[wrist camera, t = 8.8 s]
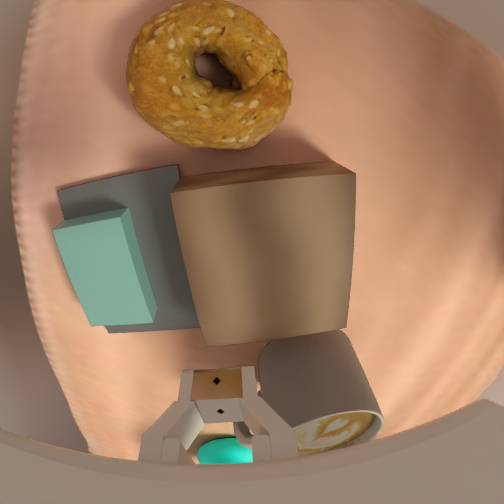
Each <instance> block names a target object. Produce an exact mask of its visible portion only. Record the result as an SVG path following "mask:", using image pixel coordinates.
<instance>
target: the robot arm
mask: <svg viewBox="0 0 504 504" xmlns="http://www.w3.org/2000/svg"><path fill="white" fill-rule="evenodd" d="M240 421H244V422H245V424H246V425H247V426H248V427H249V429H250V430H251V431H252V432H253V434H254V435H255V436H253V437H252V438H251V441H252V460H253V462H247V463H229V464H195V463H194V461H193V460H192V458H191V457H190V455H189V454H188V452H187V450H188V448H189V447H190V445H191V444H192V442H193V441H194V439H195V438H196V437H197V435H198V434H199V432H200V431H201V429H202V428H203V426H204V425H205V424H204V423H220V422H240ZM0 504H504V407H503V406H501V405H499V404H497V403H495V402H493V401H490V400H488V399H484V398H483V399H479V400H477V401H474V402H472V403H470V404H468V405H466V406H464V407H462V408H460V409H458V410H456V411H453V412H451V413H449V414H446V415H444V416H442V417H439V418H437V419H434V420H432V421H429V422H427V423H424V424H422V425H419V426H416V427H414V428H411V429H408V430H405V431H402V432H399V433H396V434H393V435H390V436H387V437H383V438H380V439H376V440H373V441H369V442H366V443H362V444H358V445H354V446H350V447H346V448H342V449H337V450H332V451H328V452H323V453H317V454H312V455H306V456H300V457H299V456H298V450H297V445H296V439H295V433H294V430H293V429H292V428H291V427H290V426H289V425H288V424H287V423H286V422H285V421H284V420H283V419H282V418H281V417H280V416H279V415H278V414H277V413H276V412H275V411H274V410H273V409H272V408H271V407H270V406H269V405H268V404H267V403H266V402H265V401H264V400H263V399H262V398H261V397H260V396H259V397H258V393H257V385H256V378H255V371H254V366H244V367H232V368H221V369H211V370H183V372H182V374H181V381H180V388H179V396H178V401H174V402H173V403H172V405H171V406H170V407H169V408H168V409H167V410H166V411H165V412H164V413H163V414H162V415H161V416H160V418H159V419H158V420H157V421H156V422H155V423H154V424H153V425H152V426H151V427H150V428H149V429H148V430H147V431H146V432H145V433H144V434H143V436H142V440H141V446H140V451H139V457H138V461H135V460H127V459H119V458H112V457H106V456H100V455H94V454H88V453H83V452H79V451H74V450H70V449H65V448H61V447H57V446H53V445H50V444H46V443H42V442H39V441H36V440H32V439H29V438H26V437H23V436H20V435H17V434H14V433H11V432H8V431H6V430H3V429H1V428H0Z"/></svg>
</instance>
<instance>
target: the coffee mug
mask: <svg viewBox="0 0 504 504" xmlns="http://www.w3.org/2000/svg"><path fill="white" fill-rule="evenodd" d="M258 370H259V377H260V385H261V389H260V390H259V392H258V397H259V396H260V397H261V398H262V399H263V400H264V401H265V402H266V403H267V404H268V405H269V406H270V407H271V408H272V409H273V410H274V411H275V412H276V413H277V414H278V415H279V416H280V417H281V418H282V419H283V420H284V421H285V422H286V423H287V424H288V425H289V426H290V427H291V428H292V429H293V430H294V433H295V439H296V445H297V450H298V456H299V457H300V456H306V455H312V454H317V453H323V452H328V451H332V450H337V449H342V448H346V447H350V446H354V445H358V444H362V443H366V442H369V441H372V440H373V439H374V438H375V437H376V436H377V435H378V434H379V432H380V431H381V429H382V428H383V425H384V418H383V415H382V413H381V410H380V408H379V405H378V403H377V401H376V398H375V396H374V394H373V391H372V389H371V387H370V384H369V382H368V380H367V378H366V375H365V373H364V371H363V369H362V366H361V364H360V362H359V360H358V357H357V355H356V353H355V351H354V349H353V347H352V344H351V342H350V340H349V338H348V337H347V335H346V334H345V333H343V332H342V331H340V330H339V329H336V330H331V331H325V332H319V333H313V334H307V335H301V336H294V337H287V338H280V339H274V340H272V341H271V342H270V343H269V344H268V345H267V346H266V347H265V348H264V350H263V351H262V353H261V354H260V357H259V360H258ZM233 425H234V433H235V436H236V438H237V440H238V441H239V442H240V443H241V444H242V445H243V446H245V447H247V448H249V449H252V441H251V438H252V437H253V436H255V435H252V434H251V433H250V431H249V427H248V426H247V425H246V424H245V422H244V421H240V422H233Z"/></svg>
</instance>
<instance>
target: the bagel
mask: <svg viewBox="0 0 504 504" xmlns="http://www.w3.org/2000/svg"><path fill="white" fill-rule="evenodd" d="M202 53H206V54H215V55H216V58H217V60H218V62H219V63H220V64H221V65H222V66H223V67H225V68H226V69H227V71H228V73H229V75H230V83H231V87H228V86H224V87H223V86H219V85H212V82H211V81H210V80H207V79H205V78H203V77H201V76H199V75H198V72H197V70H196V67H195V58H197V57H198V56H199V55H201V54H202ZM287 68H288V61H287V53H286V51H285V50H284V48H283V45H282V43H281V41H280V39H279V38H278V37H277V35H275V34H274V33H273V32H272V31H270V30H269V29H268V26H266V25H265V24H264V23H263V22H262V21H261V19H260V18H258V17H257V16H256V15H254V14H253V13H251V12H250V11H248V10H246V9H245V8H243V7H240V6H237V5H235V4H233V3H232V2H227V1H224V0H185V1H182V2H177V3H174V4H172V5H170V6H169V7H168V8H166V9H165V10H162V11H160V12H159V13H158V14H156V15H154V16H153V17H151V18H150V19H149V20H148V21H147V22H146V23H145V24H144V25H143V26H142V27H141V28H140V29H139V30H138V32H137V33H136V38H135V39H134V41H133V43H132V45H131V47H130V52H129V54H128V62H127V69H126V80H127V89H128V91H129V93H130V95H131V97H132V99H133V104H134V107H135V109H136V110H137V111H138V113H139V114H140V115H141V116H142V117H143V118H144V119H145V120H146V121H147V122H148V123H149V124H150V125H151V126H153V127H154V128H155V129H156V130H158V131H160V132H162V133H163V134H164V135H166V136H167V137H168V138H170V139H172V140H173V141H174V142H176V143H178V144H180V145H183V146H187V147H209V148H214V149H235V150H244V149H248V148H251V147H253V146H255V145H256V144H257V143H258V142H259V141H260V140H261V139H262V138H264V137H265V136H268V135H269V134H270V133H271V132H272V131H273V130H274V129H275V128H276V127H277V125H278V124H279V123H281V122H282V121H283V119H284V117H285V114H286V112H287V110H288V108H289V107H290V105H291V89H292V87H293V80H292V79H290V78H289V77H288V73H287Z"/></svg>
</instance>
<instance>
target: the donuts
mask: <svg viewBox="0 0 504 504" xmlns="http://www.w3.org/2000/svg"><path fill="white" fill-rule="evenodd" d="M197 457H198V460H199V462H200V463H201V464H229V463H247V462H253V460H252V449H249V448H247V447H245V446H243V445H242V444H241V443H240V442H239V441H238V440H237V438H222V439H216V440H212V441H209V442H207V443H205V444H204V445H202V446H201V447H200V449H199V450H198V453H197Z"/></svg>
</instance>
